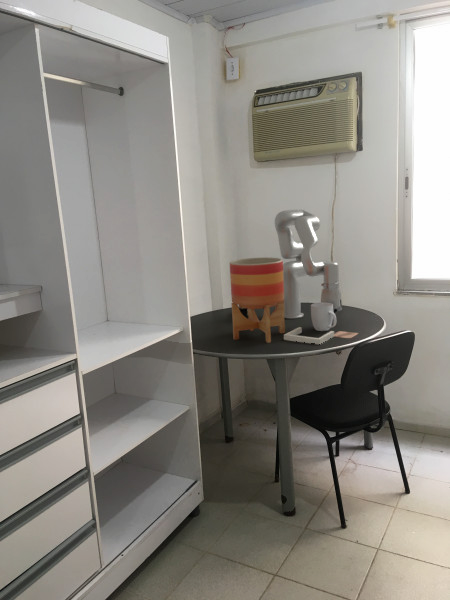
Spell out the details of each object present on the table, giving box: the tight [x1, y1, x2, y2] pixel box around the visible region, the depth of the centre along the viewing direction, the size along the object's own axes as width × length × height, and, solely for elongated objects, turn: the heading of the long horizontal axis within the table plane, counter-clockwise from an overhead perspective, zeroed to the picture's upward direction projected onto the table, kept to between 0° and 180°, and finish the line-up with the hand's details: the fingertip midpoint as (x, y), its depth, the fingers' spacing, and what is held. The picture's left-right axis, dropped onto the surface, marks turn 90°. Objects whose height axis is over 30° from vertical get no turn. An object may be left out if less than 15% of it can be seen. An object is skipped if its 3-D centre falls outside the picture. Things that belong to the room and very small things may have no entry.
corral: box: [283, 326, 335, 345], centre depth 237 cm, size 19×16×2 cm
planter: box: [229, 256, 286, 344], centre depth 243 cm, size 27×27×38 cm
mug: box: [310, 302, 338, 332], centre depth 248 cm, size 15×11×13 cm
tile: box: [333, 330, 360, 339], centre depth 240 cm, size 10×10×1 cm
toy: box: [238, 306, 249, 319], centre depth 293 cm, size 12×7×30 cm
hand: (331, 320), depth 257 cm, fingers closed
